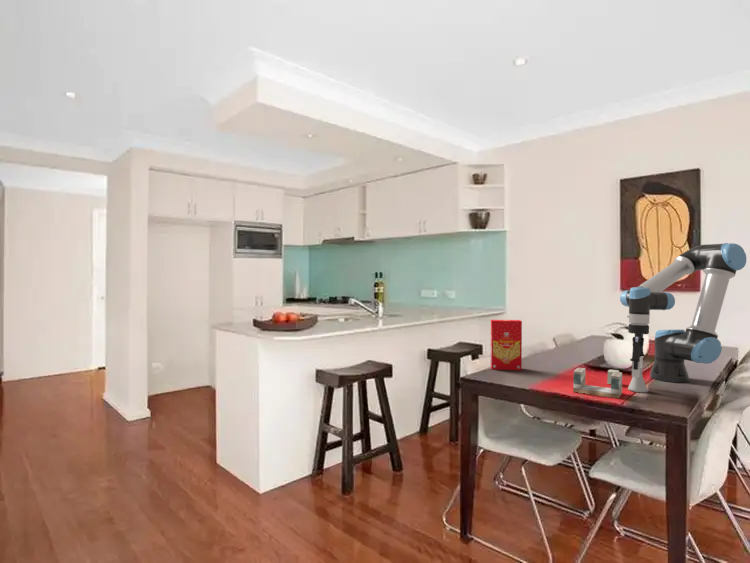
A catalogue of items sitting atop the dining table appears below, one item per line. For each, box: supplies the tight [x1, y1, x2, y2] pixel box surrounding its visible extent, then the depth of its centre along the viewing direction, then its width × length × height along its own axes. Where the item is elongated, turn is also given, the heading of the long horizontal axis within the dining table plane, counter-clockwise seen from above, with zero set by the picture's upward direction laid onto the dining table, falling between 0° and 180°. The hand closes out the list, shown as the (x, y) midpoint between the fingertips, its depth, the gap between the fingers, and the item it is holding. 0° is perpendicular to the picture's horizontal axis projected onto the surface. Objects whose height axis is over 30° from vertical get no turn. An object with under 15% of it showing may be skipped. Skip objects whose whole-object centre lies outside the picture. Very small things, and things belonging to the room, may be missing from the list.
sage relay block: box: [606, 369, 620, 384], centre depth 202 cm, size 4×5×6 cm
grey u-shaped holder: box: [572, 367, 623, 399], centre depth 188 cm, size 17×10×9 cm, turn 55°
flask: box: [627, 367, 649, 393], centre depth 191 cm, size 7×7×10 cm
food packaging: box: [490, 319, 523, 371], centre depth 233 cm, size 15×5×25 cm, turn 82°
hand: (637, 374), depth 191 cm, fingers open, 13 cm apart
